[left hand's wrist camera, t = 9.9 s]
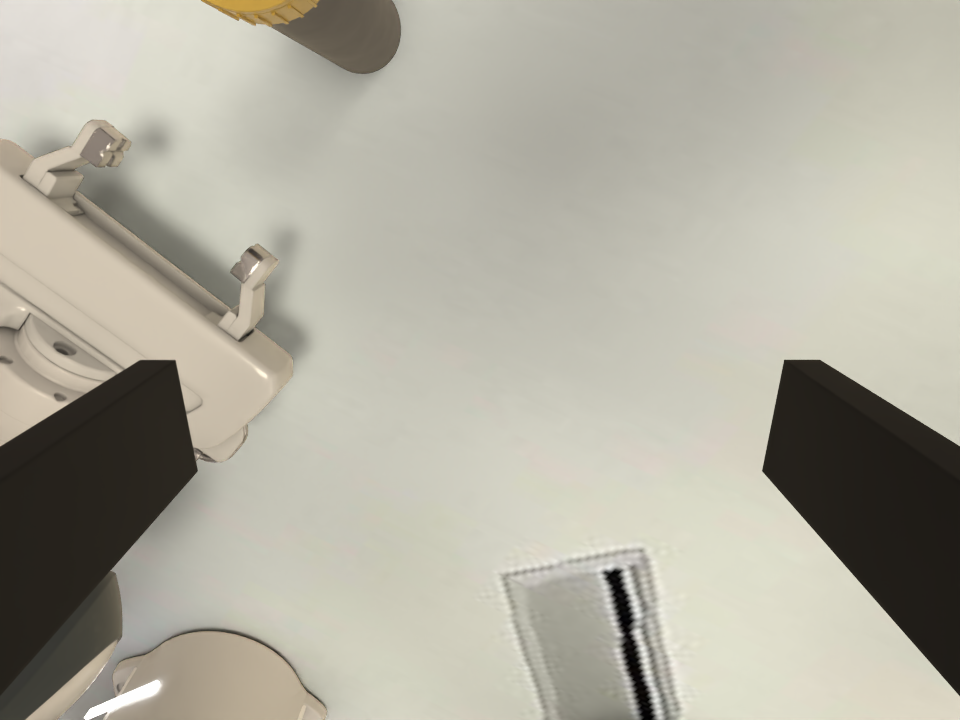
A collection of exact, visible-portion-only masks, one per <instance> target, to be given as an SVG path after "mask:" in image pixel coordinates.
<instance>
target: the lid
mask: <svg viewBox="0 0 960 720" xmlns="http://www.w3.org/2000/svg"><path fill="white" fill-rule="evenodd" d="M201 1H203V2H204V3H206V4H208V5H210V6H212V7H214V8H216V9H218V11H220V12H222V13H224V14H226V15H228V16H230V17H232V18H234V19H236V20H238V21H239V18H240V19H242V20H244V21H246V22H248V23H249V24H251V25H254V26H256V23H257V24H266V25H267V26H269V27H273V25H272V24H280V23H285V24H286V25H287V24H289V21H291V20H294V19H296V18H298V17H301V18H303V17H304V15H303V14H305V13H307V12H308V11H309V10H310V9H312V8H313V7H315V8H316V7H317V3H318V2H319V1H320V0H201Z"/></svg>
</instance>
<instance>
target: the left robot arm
mask: <svg viewBox="0 0 960 720" xmlns="http://www.w3.org/2000/svg"><path fill="white" fill-rule="evenodd" d="M197 471H198V470H197V465H196V460H195V455H194V450H193V445H192V440H191V435H190V429H189V424H188V419H187V414H186V409H185V404H184V399H183V394H182V389H181V384H180V379H179V374H178V369H177V364H176V360H139V361H138V362H136V363H134V364H133V365H131V366H129V367H128V368H126V369H125V370H123V371H121V372H120V373H118V374H116V375H115V376H113V377H112V378H110V379H108V380H107V381H105V382H104V383H102V384H100V385H99V386H97V387H95V388H94V389H92V390H91V391H89V392H87V393H86V394H84V395H83V396H81V397H79V398H78V399H76V400H74V401H73V402H71V403H70V404H68V405H66V406H65V407H63V408H61V409H60V410H58V411H57V412H55V413H53V414H52V415H50V416H49V417H47V418H45V419H44V420H42V421H40V422H39V423H37V424H36V425H34V426H32V427H31V428H29V429H28V430H26V431H24V432H23V433H21V434H19V435H18V436H16V437H15V438H13V439H11V440H10V441H8V442H6V443H5V444H3V445H2V446H0V696H1V694H2V693H3V692H4V691H5V690H6V689H7V688H8V687H9V685H10V684H11V683H12V682H13V681H14V680H15V679H16V677H17V676H18V675H19V674H20V673H21V672H22V671H23V669H24V668H25V667H26V666H27V665H28V664H29V663H30V661H31V660H32V659H33V658H34V657H35V656H36V655H37V654H38V652H39V651H40V650H41V649H42V648H43V647H44V646H45V644H46V643H47V642H48V641H49V640H50V639H51V638H52V636H53V635H54V634H55V633H56V632H57V631H58V630H59V628H60V627H61V626H62V625H63V624H64V623H65V622H66V620H67V619H68V618H69V617H70V616H71V615H72V614H73V613H74V611H75V610H76V609H77V608H78V607H79V606H80V605H81V603H82V602H83V601H84V600H85V599H86V598H87V597H88V595H89V594H90V593H91V592H92V591H93V590H94V589H95V587H96V586H97V585H98V584H99V583H100V582H101V581H102V580H103V578H104V577H105V576H106V575H107V574H108V573H109V572H110V570H111V569H112V568H113V567H114V566H115V565H116V564H117V562H118V561H119V560H120V559H121V558H122V557H123V556H124V554H125V553H126V552H127V551H128V550H129V549H130V548H131V547H132V545H133V544H134V543H135V542H136V541H137V540H138V539H139V537H140V536H141V535H142V534H143V533H144V532H145V531H146V529H147V528H148V527H149V526H150V525H151V524H152V523H153V521H154V520H155V519H156V518H157V517H158V516H159V515H160V513H161V512H162V511H163V510H164V509H165V508H166V507H167V506H168V504H169V503H170V502H171V501H172V500H173V499H174V498H175V496H176V495H177V494H178V493H179V492H180V491H181V490H182V488H183V487H184V486H185V485H186V484H187V483H188V482H189V480H190V479H191V478H192V477H193V476H194V475H195V474H196V473H197ZM762 471H763V473H764V474H765V475H766V476H767V477H768V478H769V479H770V480H771V482H772V483H773V484H774V485H775V486H776V487H777V488H778V490H779V491H780V492H781V493H782V494H783V495H784V496H785V498H786V499H787V500H788V501H789V502H790V503H791V504H792V506H793V507H794V508H795V509H796V510H797V511H798V512H799V513H800V515H801V516H802V517H803V518H804V519H805V520H806V521H807V523H808V524H809V525H810V526H811V527H812V528H813V529H814V531H815V532H816V533H817V534H818V535H819V536H820V537H821V539H822V540H823V541H824V542H825V543H826V544H827V545H828V547H829V548H830V549H831V550H832V551H833V552H834V553H835V554H836V556H837V557H838V558H839V559H840V560H841V561H842V562H843V564H844V565H845V566H846V567H847V568H848V569H849V570H850V572H851V573H852V574H853V575H854V576H855V577H856V578H857V580H858V581H859V582H860V583H861V584H862V585H863V586H864V587H865V589H866V590H867V591H868V592H869V593H870V594H871V595H872V597H873V598H874V599H875V600H876V601H877V602H878V603H879V605H880V606H881V607H882V608H883V609H884V610H885V611H886V613H887V614H888V615H889V616H890V617H891V618H892V619H893V621H894V622H895V623H896V624H897V625H898V626H899V627H900V628H901V630H902V631H903V632H904V633H905V634H906V635H907V636H908V638H909V639H910V640H911V641H912V642H913V643H914V644H915V646H916V647H917V648H918V649H919V650H920V651H921V652H922V654H923V655H924V656H925V657H926V658H927V659H928V660H929V661H930V663H931V664H932V665H933V666H934V667H935V668H936V669H937V671H938V672H939V673H940V674H941V675H942V676H943V677H944V679H945V680H946V681H947V682H948V683H949V684H950V685H951V687H952V688H953V689H954V690H955V691H956V692H957V693H958V694H959V696H960V446H958V445H957V444H955V443H953V442H952V441H950V440H949V439H947V438H945V437H944V436H942V435H941V434H939V433H937V432H936V431H934V430H932V429H931V428H929V427H928V426H926V425H924V424H923V423H921V422H920V421H918V420H916V419H915V418H913V417H911V416H910V415H908V414H907V413H905V412H903V411H902V410H900V409H898V408H897V407H895V406H894V405H892V404H890V403H889V402H887V401H886V400H884V399H882V398H881V397H879V396H877V395H876V394H874V393H873V392H871V391H869V390H868V389H866V388H865V387H863V386H861V385H860V384H858V383H856V382H855V381H853V380H852V379H850V378H848V377H847V376H845V375H843V374H842V373H840V372H839V371H837V370H835V369H834V368H832V367H831V366H829V365H827V364H826V363H824V362H822V361H821V360H784V364H783V369H782V374H781V379H780V384H779V389H778V394H777V399H776V404H775V409H774V414H773V419H772V424H771V429H770V434H769V440H768V445H767V450H766V455H765V460H764V465H763V470H762Z"/></svg>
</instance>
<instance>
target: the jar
mask: <svg viewBox="0 0 960 720" xmlns="http://www.w3.org/2000/svg"><path fill="white" fill-rule="evenodd" d="M303 15H304V17H303V18H301V17H298V18H296V19H294V20H291V21H289V24H287V25H286V24H285V23H280V24H272V25H273V27H272V28H274V29H275V30H277V31H279V32H281V33H282V34H284V35H286V36H288V37H289V38H291V39H293V40H295V41H296V42H298V43H300V44H302V45H303V46H305V47H307V48H309V49H310V50H312V51H314V52H316V53H317V54H319V55H321V56H323V57H324V58H326V59H328V60H330V61H331V62H333V63H335V64H337V65H338V66H340V67H342V68H344V69H346V70H348V71H350V72H354V73H360V74H365V73H371V72H375V71H377V70H379V69H381V68H383V67H384V66H385V65H386V64H387V63H388V62H389V61H390V60H391V59H392V57H393V56H394V54H395V52H396V51H397V48H398V45H399V41H400V35H401V26H400V19H399V15H398V12H397V9H396V7H395V5H394V3H393V2H392V0H320V1H319V2H318V3H317V7H316V8H315V7H313V8H312V9H310V10H309V11H308V12H307V13H305V14H303Z"/></svg>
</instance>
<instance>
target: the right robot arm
mask: <svg viewBox="0 0 960 720" xmlns="http://www.w3.org/2000/svg"><path fill="white" fill-rule="evenodd" d="M130 146H131V141H130V140H129V139H127V138H126V137H125V136H124V135H123V134H121V133H120V132H119V131H118V130H117V129H115V128H114V126H112V125H111V124H109V123H108V122H107V121H105V120H91V121H89V122H87V123H86V124H85V125H84V127H83V128H82V130H81V132H80V133H79V135H78V137H77V138H76V140H75V142H74V143H73V145H72V146H67V147H65V148H62V149H59V150H56V151H54V152H51V153H48V154H46V155H43V156H40V157H37V158H34V157H33V156H31V155H30V154H29V153H28V152H26V151H25V150H24V149H22V148H21V147H20V146H19V145H17V144H16V143H14V142H12V141H10V140H6V139H0V446H2V445H3V444H5V443H6V442H8V441H10V440H11V439H13V438H15V437H16V436H18V435H19V434H21V433H23V432H24V431H26V430H28V429H29V428H31V427H32V426H34V425H36V424H37V423H39V422H40V421H42V420H44V419H45V418H47V417H49V416H50V415H52V414H53V413H55V412H57V411H58V410H60V409H61V408H63V407H65V406H66V405H68V404H70V403H71V402H73V401H74V400H76V399H78V398H79V397H81V396H83V395H84V394H86V393H87V392H89V391H91V390H92V389H94V388H95V387H97V386H99V385H100V384H102V383H104V382H105V381H107V380H108V379H110V378H112V377H113V376H115V375H116V374H118V373H120V372H121V371H123V370H125V369H126V368H128V367H129V366H131V365H133V364H134V363H136V362H138V361H139V360H176V364H177V369H178V374H179V379H180V384H181V389H182V394H183V399H184V404H185V409H186V414H187V419H188V424H189V429H190V435H191V440H192V445H193V450H194V455H195V460H197V459H198V458H199V459H201V460H204V461H207V462H214V463H216V462H223V461H226V460H228V459H229V458H231V457H232V456H233V455H234V454H235V453H236V452H237V450H238V449H239V448H240V447H241V446H242V445H243V443H244V442H245V440H246V438H247V435H248V425H247V424H248V423H249V422H250V421H251V420H252V419H253V418H254V417H255V416H256V415H257V414H258V413H259V412H260V411H261V410H263V408H264V407H265V406H266V405H267V404H268V403H269V402H270V401H271V400H272V399H273V398H274V397H275V396H276V395H277V394H278V393H279V391H280V390H281V389H282V388H283V387H284V386H285V385H286V383H287V382H288V381H289V380H290V378H291V377H292V376H293V361H292V357H291V355H290V354H289V353H288V352H287V351H285V350H284V349H283V348H281V347H280V346H279V345H278V344H276V343H275V342H274V341H272V340H271V339H270V338H268V337H267V336H266V335H264V334H263V333H262V332H261V331H259V330H258V329H257V328H255V326H256V324H257V323H258V322H259V320H260V319H261V318H262V317H263V315H264V299H265V284H264V281H265V280H266V279H267V278H268V276H269V275H270V274H271V272H272V271H273V270H274V268H275V267H276V266H277V264H278V263H279V260H278V259H276V258H275V257H274V256H273V255H272V254H270V253H269V252H268V251H266V250H265V249H264V248H263V247H261V246H260V245H259V244H255V246H251V247H249V248H248V249H247V250H246V251H245V252H244V253H243V255H242V256H241V261H239V262H237V263H236V264H235V265H234V267H233V268H232V269H231V271H230V273H232V274H233V275H234V276H235V277H236V278H238V279H239V280H240V281H241V282H242V283H241V291H240V302H239V305H237V306H235V307H234V308H232V309H231V308H229V307H228V306H227V305H225V304H224V303H223V302H221V301H220V300H219V299H218V298H216V297H215V296H214V295H212V294H211V293H210V292H208V291H207V290H206V289H205V288H203V287H202V286H201V285H199V284H198V283H197V282H195V281H194V280H193V279H192V278H190V277H189V276H188V275H186V274H185V273H184V272H182V271H181V270H180V269H178V268H177V267H176V266H175V265H173V264H172V263H171V262H169V261H168V260H167V259H165V258H164V257H163V256H162V255H160V254H159V253H158V252H156V251H155V250H154V249H152V248H151V247H150V246H149V245H147V244H146V243H145V242H143V241H142V240H141V239H139V238H138V237H137V236H136V235H134V234H133V233H132V232H130V231H129V230H128V229H126V228H125V227H124V226H123V225H121V224H120V223H119V222H117V221H116V220H115V219H113V218H112V217H111V216H109V215H108V214H107V213H106V212H104V211H103V210H102V209H100V208H99V207H98V206H96V205H95V204H94V203H93V202H91V201H90V200H89V199H87V198H86V197H85V196H83V195H82V194H81V193H80V192H78V191H77V189H78V187H79V185H80V184H81V182H82V180H83V179H84V178H83V175H82V174H80V173H79V172H78V171H74V170H75V168H78V167H80V166H83V165H85V164H88V163H91V164H93V165H94V166H95V167H105V166H109V167H118V165H119V164H120V162H121V161H122V159H123V158H124V154H123V152H124V151H127V150H129V148H130ZM122 628H123V623H122V604H121V597H120V591H119V586H118V582H117V577H116V574H115V573H114V572H112V571H110V572H109V573H108V574H107V575H106V576H105V577H104V578H103V580H102V581H101V582H100V583H99V584H98V585H97V586H96V587H95V589H94V590H93V591H92V592H91V593H90V594H89V595H88V597H87V598H86V599H85V600H84V601H83V602H82V603H81V605H80V606H79V607H78V608H77V609H76V610H75V611H74V613H73V614H72V615H71V616H70V617H69V618H68V619H67V620H66V622H65V623H64V624H63V625H62V626H61V627H60V628H59V630H58V631H57V632H56V633H55V634H54V635H53V636H52V638H51V639H50V640H49V641H48V642H47V643H46V644H45V646H44V647H43V648H42V649H41V650H40V651H39V652H38V654H37V655H36V656H35V657H34V658H33V659H32V660H31V661H30V663H29V664H28V665H27V666H26V667H25V668H24V669H23V671H22V672H21V673H20V674H19V675H18V676H17V677H16V679H15V680H14V681H13V682H12V683H11V684H10V685H9V687H8V688H7V689H6V690H5V691H4V692H3V693H2V694H1V696H0V720H57V719H58V718H59V717H60V716H61V715H62V714H64V713H65V712H66V711H67V710H68V709H69V708H70V707H71V706H72V705H73V704H74V703H75V702H76V701H77V700H78V699H79V698H80V697H81V696H82V695H83V693H84V692H85V691H86V690H87V689H88V688H89V687H90V685H91V684H92V683H93V682H94V680H95V679H96V678H97V677H98V675H99V674H100V673H101V671H102V670H103V668H104V667H105V665H106V664H107V662H108V660H109V659H110V657H111V655H112V653H113V651H114V649H115V647H116V644H117V643H118V642H119V640H120V639H121V637H122ZM112 681H113V687H114V693H115V698H114V699H112V700H110V701H107V702H105V703H103V704H101V705H98V706H96V707H94V708H91V709H90V710H89V711H88V713H87V714H86V716H85V717H84V718H85V719H86V720H88V719H90V718H93V717H95V716H97V715H100V714H102V713H104V712H107V711H108V712H107V714H106V715H105V717H104V719H103V720H325V717H326V715H327V710H326V708H325V707H324V706H323V704H322V703H320V702H319V701H318V700H317V699H316V698H314V697H313V696H312V695H311V694H309V693H308V692H307V691H306V690H305V689H304V687H303V686H302V684H301V682H300V680H299V679H298V677H297V675H296V674H295V672H294V671H293V669H292V668H291V667H290V666H289V664H288V663H287V662H286V661H285V660H284V659H283V658H281V657H280V656H279V655H278V654H277V653H275V652H274V651H272V650H271V649H269V648H268V647H266V646H264V645H262V644H260V643H258V642H256V641H254V640H251V639H249V638H246V637H243V636H239V635H236V634H231V633H225V632H217V631H201V632H192V633H187V634H183V635H179V636H177V637H174V638H172V639H169V640H168V641H166V642H164V643H162V644H161V645H160V646H158V647H157V648H156V649H154V650H153V651H151V652H150V653H148V654H146V655H142V656H137V657H133V658H129V659H126V660H123V661H121V662H120V663H119V664H118V665H117V667H116V669H115V671H114V673H113V675H112Z"/></svg>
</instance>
